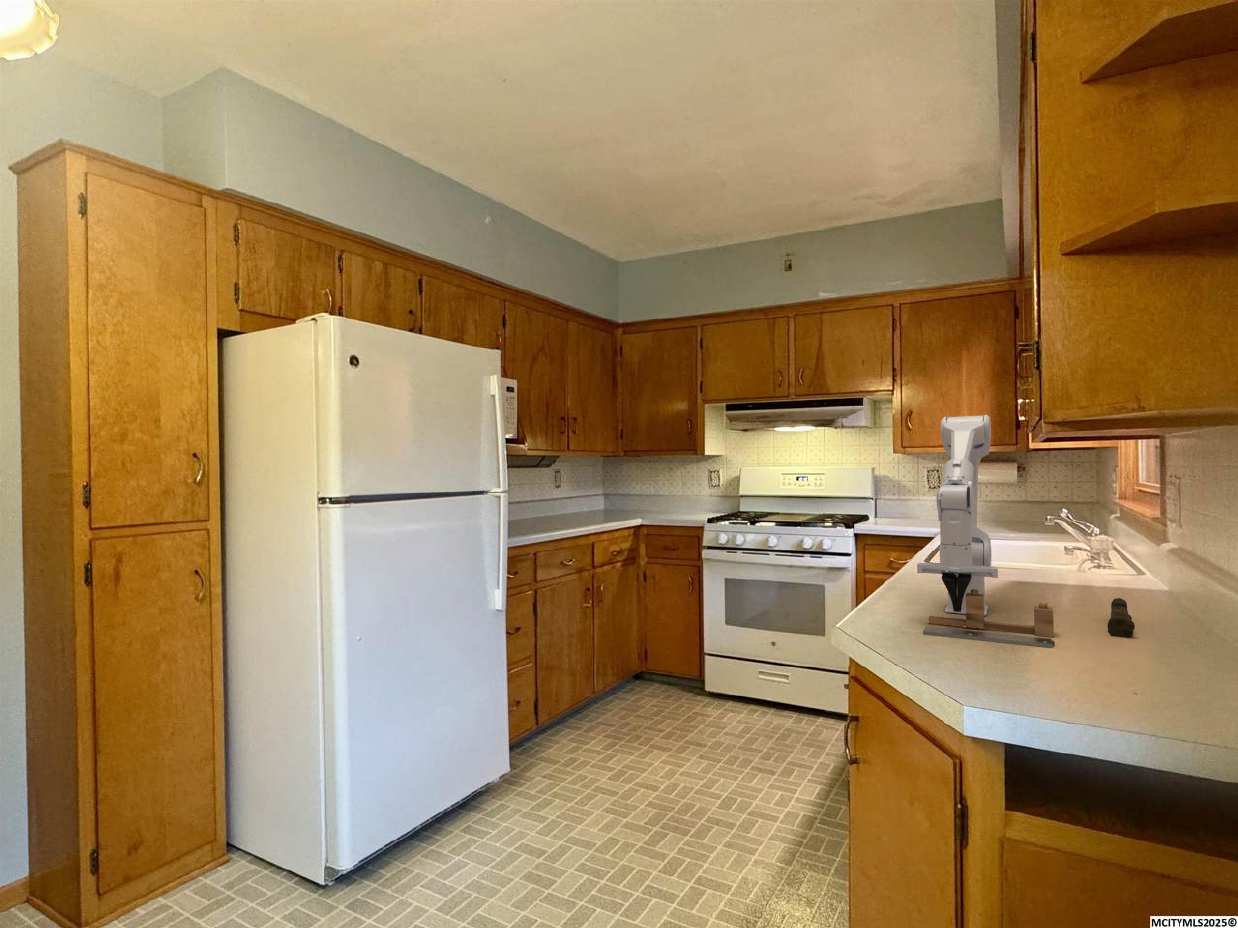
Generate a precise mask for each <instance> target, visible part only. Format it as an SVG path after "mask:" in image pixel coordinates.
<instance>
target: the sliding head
mask: <svg viewBox="0 0 1238 928" xmlns="http://www.w3.org/2000/svg"><path fill="white" fill-rule="evenodd" d="M965 619H966V627H969V628H968V629H976V628H979V629H978V630H985V629H984V622H983V621H985V616H984V594H980V593H979V590H976V589H971V593H967V594H966V614H965ZM966 627H965V628H966Z"/></svg>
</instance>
